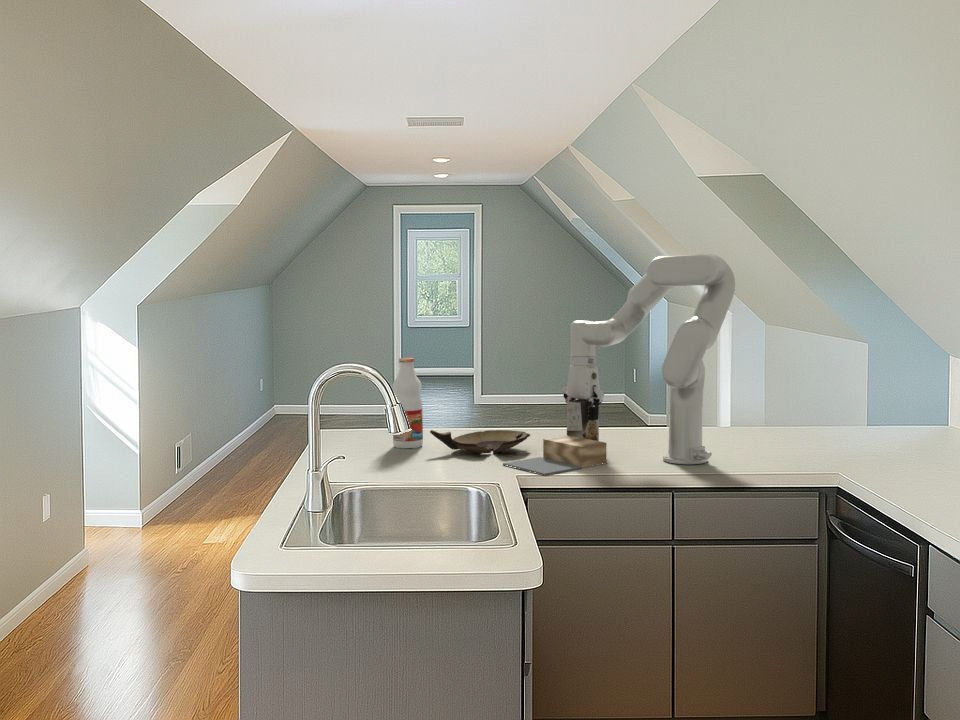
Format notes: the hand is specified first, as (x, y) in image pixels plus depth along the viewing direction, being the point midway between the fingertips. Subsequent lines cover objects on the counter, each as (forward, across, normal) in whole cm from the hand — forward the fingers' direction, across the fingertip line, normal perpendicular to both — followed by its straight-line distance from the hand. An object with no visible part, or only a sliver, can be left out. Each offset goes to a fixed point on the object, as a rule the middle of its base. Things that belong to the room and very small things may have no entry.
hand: (582, 417), depth 298 cm
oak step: (+11, -8, +11) cm, 17 cm away
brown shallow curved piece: (+11, +22, +22) cm, 33 cm away
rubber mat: (+11, -8, +23) cm, 27 cm away
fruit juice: (+11, +43, +35) cm, 56 cm away
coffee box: (+11, 0, 0) cm, 11 cm away
